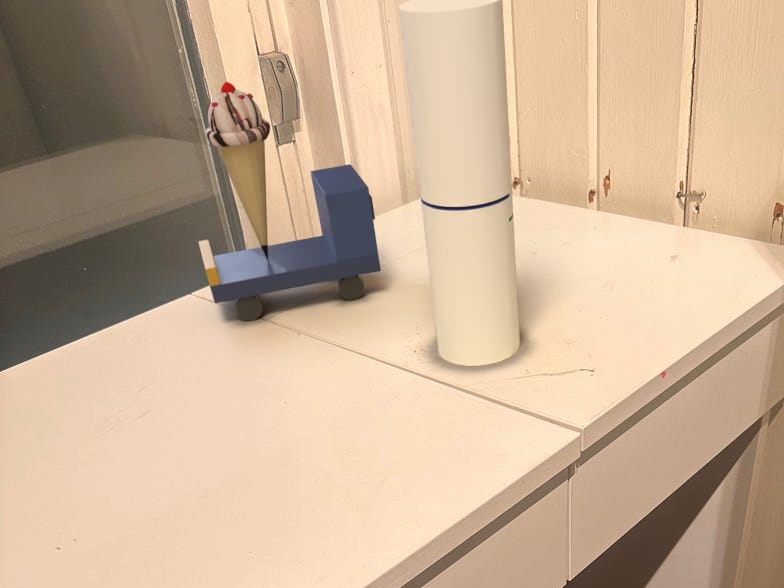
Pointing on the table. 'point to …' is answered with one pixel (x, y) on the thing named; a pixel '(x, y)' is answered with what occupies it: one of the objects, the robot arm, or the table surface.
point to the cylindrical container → (464, 173)
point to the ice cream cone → (242, 151)
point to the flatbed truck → (305, 249)
